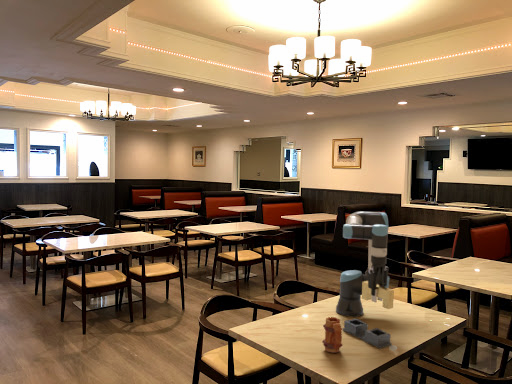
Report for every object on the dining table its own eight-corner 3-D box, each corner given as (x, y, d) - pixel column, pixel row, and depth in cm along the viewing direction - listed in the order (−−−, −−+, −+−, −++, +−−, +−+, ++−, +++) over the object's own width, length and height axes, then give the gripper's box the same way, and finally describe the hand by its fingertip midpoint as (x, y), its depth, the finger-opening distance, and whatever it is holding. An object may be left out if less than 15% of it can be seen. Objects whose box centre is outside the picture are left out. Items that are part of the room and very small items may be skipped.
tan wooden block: (361, 298, 216) (362, 281, 216) (366, 297, 218) (367, 280, 218) (388, 309, 202) (388, 291, 201) (393, 307, 203) (393, 290, 203)
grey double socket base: (342, 330, 208) (343, 320, 208) (354, 327, 212) (354, 317, 212) (379, 348, 188) (380, 338, 187) (391, 345, 192) (392, 334, 191)
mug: (320, 346, 189) (321, 313, 188) (337, 345, 190) (339, 313, 189) (328, 361, 174) (330, 326, 173) (347, 360, 175) (348, 326, 174)
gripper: (372, 258, 201) (370, 305, 202) (396, 255, 209) (393, 300, 211) (361, 255, 207) (359, 301, 209) (384, 252, 216) (382, 296, 217)
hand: (376, 300), depth 210 cm, fingers closed on tan wooden block, 3 cm apart
